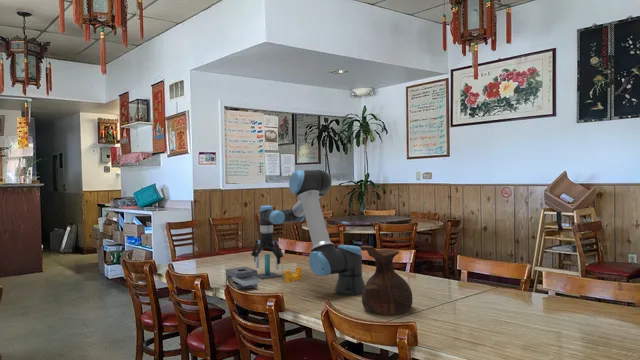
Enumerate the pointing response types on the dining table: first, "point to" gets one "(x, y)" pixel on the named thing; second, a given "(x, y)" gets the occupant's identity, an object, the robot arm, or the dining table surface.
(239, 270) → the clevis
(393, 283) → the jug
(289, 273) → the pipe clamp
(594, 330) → the dining table surface
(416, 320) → the dining table surface
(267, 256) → the pin
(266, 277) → the mat
